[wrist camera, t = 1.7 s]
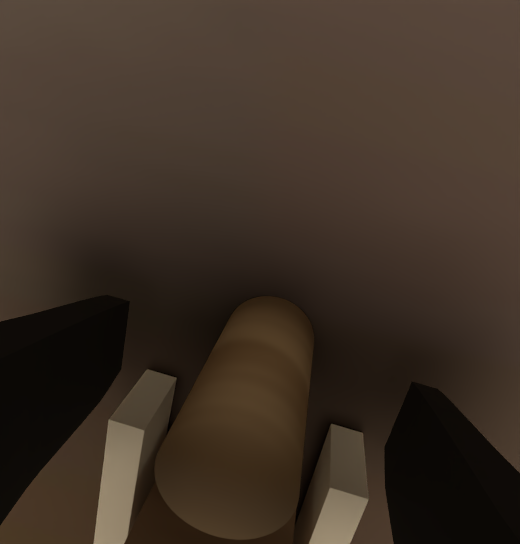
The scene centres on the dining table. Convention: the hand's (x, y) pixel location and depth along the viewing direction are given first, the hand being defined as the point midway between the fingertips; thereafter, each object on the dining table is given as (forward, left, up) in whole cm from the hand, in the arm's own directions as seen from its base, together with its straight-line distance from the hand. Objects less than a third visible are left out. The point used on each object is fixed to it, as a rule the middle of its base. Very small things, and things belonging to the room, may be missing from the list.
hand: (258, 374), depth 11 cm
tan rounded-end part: (-2, +2, -2) cm, 4 cm away
